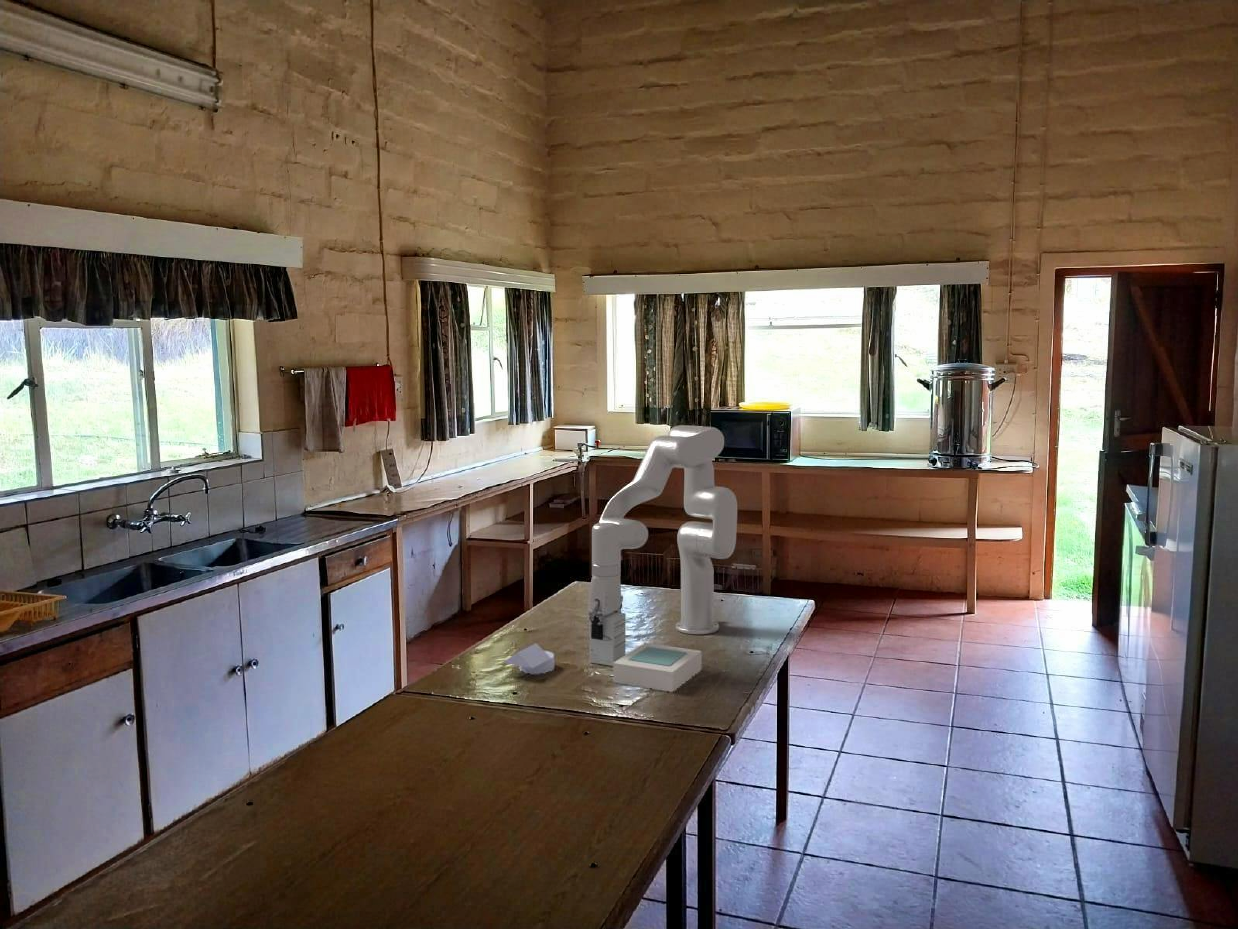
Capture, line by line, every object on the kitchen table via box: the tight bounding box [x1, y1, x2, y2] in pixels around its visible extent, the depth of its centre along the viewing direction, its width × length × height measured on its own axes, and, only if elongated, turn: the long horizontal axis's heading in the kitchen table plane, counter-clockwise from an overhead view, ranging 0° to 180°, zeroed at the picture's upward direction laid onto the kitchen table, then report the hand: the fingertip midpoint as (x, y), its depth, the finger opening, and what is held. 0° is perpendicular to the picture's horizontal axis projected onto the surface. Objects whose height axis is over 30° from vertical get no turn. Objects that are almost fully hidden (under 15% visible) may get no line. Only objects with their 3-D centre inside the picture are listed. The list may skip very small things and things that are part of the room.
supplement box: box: [588, 612, 627, 667], centre depth 258 cm, size 7×7×13 cm
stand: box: [612, 642, 702, 693], centre depth 246 cm, size 18×16×5 cm
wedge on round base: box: [503, 643, 555, 675], centre depth 252 cm, size 9×7×13 cm
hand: (606, 634), depth 258 cm, fingers open, 9 cm apart
